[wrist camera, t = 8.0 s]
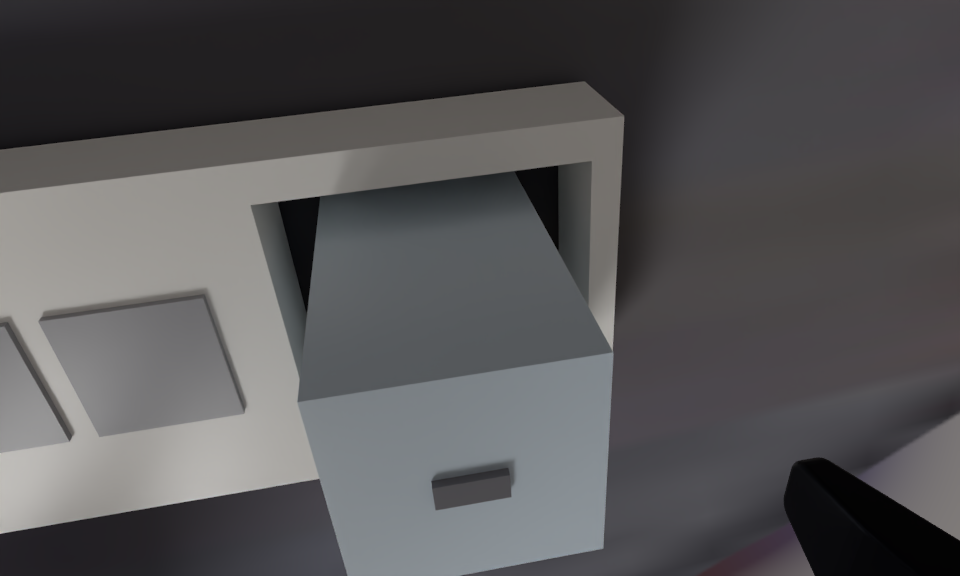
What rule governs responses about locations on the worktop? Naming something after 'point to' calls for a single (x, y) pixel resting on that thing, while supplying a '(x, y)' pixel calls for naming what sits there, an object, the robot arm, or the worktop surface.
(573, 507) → the box
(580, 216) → the power strip
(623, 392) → the worktop surface
